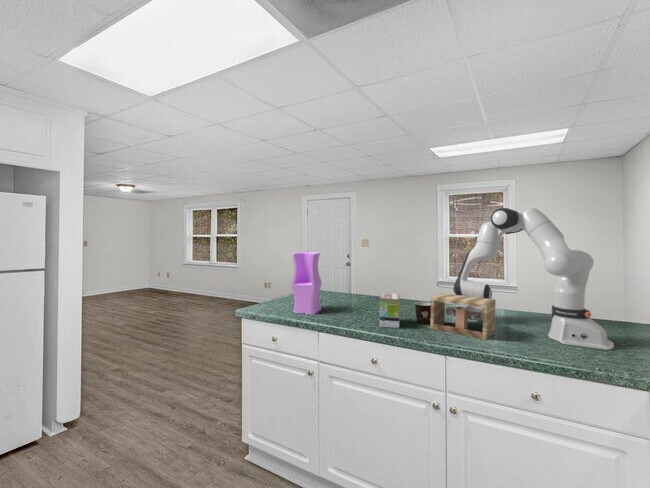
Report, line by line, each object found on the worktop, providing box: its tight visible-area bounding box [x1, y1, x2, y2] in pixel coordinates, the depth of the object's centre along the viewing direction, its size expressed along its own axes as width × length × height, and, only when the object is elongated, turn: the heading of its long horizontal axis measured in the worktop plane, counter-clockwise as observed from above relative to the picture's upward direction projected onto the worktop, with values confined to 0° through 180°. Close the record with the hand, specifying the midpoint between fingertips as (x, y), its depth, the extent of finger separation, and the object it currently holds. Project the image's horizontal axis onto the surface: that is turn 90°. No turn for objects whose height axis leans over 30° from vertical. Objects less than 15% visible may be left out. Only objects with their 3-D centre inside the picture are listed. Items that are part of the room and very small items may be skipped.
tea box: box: [379, 292, 401, 329], centre depth 171 cm, size 15×10×15 cm
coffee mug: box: [414, 301, 431, 325], centre depth 172 cm, size 12×9×10 cm
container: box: [291, 251, 322, 315], centre depth 197 cm, size 14×14×35 cm
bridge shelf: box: [430, 292, 497, 340], centre depth 159 cm, size 26×14×16 cm, turn 49°
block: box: [454, 306, 469, 330], centre depth 158 cm, size 4×5×11 cm
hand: (462, 316), depth 159 cm, fingers open, 8 cm apart
